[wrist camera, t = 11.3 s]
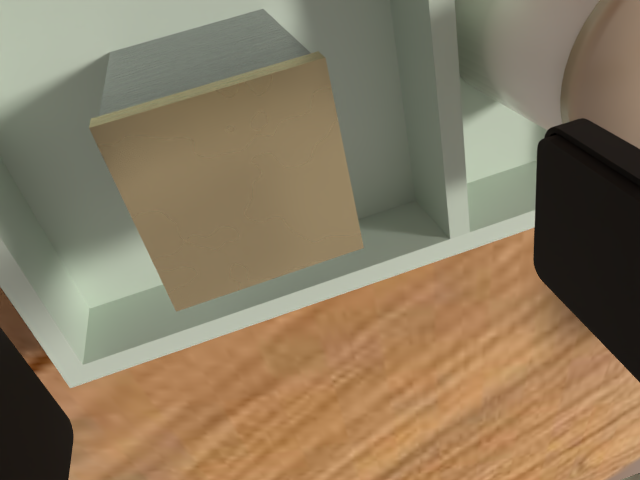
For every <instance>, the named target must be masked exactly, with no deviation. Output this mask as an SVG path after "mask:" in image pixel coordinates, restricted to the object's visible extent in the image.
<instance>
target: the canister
mask: <svg viewBox="0 0 640 480" xmlns="http://www.w3.org/2000/svg"><path fill="white" fill-rule="evenodd" d="M455 13H456V28H457V43H458V58H459V74H460V77H461V78H462V79H463V80H464V81H465V82H466V83H467V84H469V85H470V86H472V87H473V88H475V89H477V90H479V91H480V92H482V93H484V94H485V95H487V96H489V97H491V98H492V99H494V100H496V101H497V102H499V103H501V104H503V105H504V106H506V107H508V108H510V109H511V110H513V111H515V112H516V113H518V114H520V115H522V116H523V117H525V118H527V119H528V120H530V121H532V122H534V123H535V124H537V125H539V126H541V127H542V128H544V129H546V130H548V129H549V128H551V127H554V126H557V125H561V124H564V123H567V122H570V121H573V120H576V119H581V118H585V119H588V120H590V121H591V122H593V123H595V124H597V125H598V126H600V127H602V128H604V129H606V130H607V131H609V132H611V133H613V134H614V135H616V136H618V137H620V138H621V139H623V140H625V141H627V142H628V143H630V144H632V145H634V146H635V147H637V148H639V149H640V0H455Z"/></svg>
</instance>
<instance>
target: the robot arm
mask: <svg viewBox="0 0 640 480" xmlns="http://www.w3.org/2000/svg"><path fill="white" fill-rule="evenodd" d="M534 266H535V269H536V272H537V274H538V276H539V277H540V279H541V280H542V281H543V282H544V283H545V284H546V285H547V286H548V287H549V288H550V289H551V290H552V291H553V293H554V294H555V295H556V296H557V297H558V298H559V299H560V300H561V301H562V302H563V303H564V304H565V305H566V306H567V307H568V308H569V309H570V310H571V311H572V312H573V313H574V314H575V315H576V316H577V317H578V318H579V320H580V321H581V322H582V323H583V324H584V325H585V326H586V327H587V328H588V329H589V330H590V331H591V332H592V333H593V334H594V335H595V336H596V337H597V338H598V339H599V340H600V341H601V342H602V343H603V344H604V346H605V347H606V348H607V349H608V350H609V351H610V352H611V353H612V354H613V355H614V356H615V357H616V358H617V359H618V360H619V361H620V362H621V363H622V364H623V365H624V366H625V367H626V368H627V369H628V370H629V372H630V373H631V374H632V375H633V376H634V377H635V378H636V379H637V380H638V381H639V382H640V149H639V148H637V147H635V146H634V145H632V144H630V143H628V142H627V141H625V140H623V139H621V138H620V137H618V136H616V135H614V134H613V133H611V132H609V131H607V130H606V129H604V128H602V127H600V126H598V125H597V124H595V123H593V122H591V121H590V120H588V119H585V118H581V119H576V120H573V121H570V122H567V123H564V124H561V125H557V126H554V127H551V128H549V129H548V130H547V132H546V134H545V138H544V139H541V140H540V141H539V143H538V147H537V168H536V199H535V231H534ZM72 446H73V429H72V425H71V423H70V420H69V418H68V417H67V415H66V414H65V413H64V411H63V410H62V409H61V407H60V406H59V405H58V403H57V402H56V401H55V399H54V398H53V397H52V395H51V394H50V393H49V391H48V390H47V389H46V387H45V386H44V385H43V383H42V382H41V381H40V379H39V378H38V377H37V376H36V374H35V373H34V372H33V370H32V369H31V368H30V366H29V365H28V364H27V362H26V361H25V360H24V358H23V357H22V356H21V354H20V353H19V352H18V350H17V349H16V348H15V346H14V345H13V344H12V342H11V341H10V340H9V338H8V337H7V336H6V334H5V333H4V332H3V330H2V329H1V328H0V480H68V478H69V470H70V462H71V454H72ZM622 480H640V473H638V474H635V475H633V476H630V477H628V478H625V479H622Z"/></svg>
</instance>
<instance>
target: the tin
mask: <svg viewBox="0 0 640 480" xmlns="http://www.w3.org/2000/svg"><path fill="white" fill-rule="evenodd" d="M89 129H90V131H91V133H92V135H93V138H94V140H95V142H96V144H97V146H98V148H99V150H100V152H101V154H102V156H103V159H104V161H105V163H106V165H107V167H108V169H109V171H110V173H111V175H112V178H113V180H114V182H115V184H116V186H117V188H118V190H119V192H120V194H121V197H122V199H123V201H124V203H125V205H126V207H127V209H128V211H129V213H130V215H131V218H132V220H133V222H134V224H135V226H136V228H137V230H138V232H139V234H140V237H141V239H142V241H143V243H144V245H145V247H146V249H147V251H148V253H149V256H150V258H151V260H152V262H153V264H154V266H155V268H156V270H157V272H158V274H159V277H160V279H161V281H162V283H163V285H164V287H165V289H166V291H167V293H168V296H169V298H170V300H171V302H172V304H173V306H174V308H175V310H176V312H177V311H180V310H183V309H186V308H189V307H192V306H195V305H197V304H200V303H203V302H206V301H209V300H212V299H215V298H218V297H221V296H224V295H227V294H230V293H233V292H236V291H239V290H242V289H245V288H248V287H250V286H253V285H256V284H259V283H262V282H265V281H268V280H271V279H274V278H277V277H280V276H283V275H286V274H289V273H292V272H295V271H298V270H301V269H304V268H306V267H309V266H312V265H315V264H318V263H321V262H324V261H327V260H330V259H333V258H336V257H339V256H342V255H345V254H348V253H351V252H354V251H357V250H360V249H362V248H364V246H363V241H362V236H361V231H360V226H359V221H358V216H357V211H356V206H355V201H354V196H353V191H352V186H351V182H350V177H349V172H348V167H347V162H346V157H345V152H344V147H343V142H342V137H341V132H340V127H339V122H338V117H337V112H336V107H335V102H334V97H333V92H332V87H331V82H330V77H329V72H328V67H327V62H326V58H325V57H324V56H323V55H322V54H321V53H320V52H319V51H317V52H314V53H310V52H309V51H308V50H307V49H306V48H305V47H304V46H303V45H302V44H301V43H300V42H299V41H297V40H296V39H295V38H294V37H293V36H292V35H291V34H290V33H289V32H288V31H287V30H286V29H285V28H283V27H282V26H281V25H280V24H279V23H278V22H277V21H276V20H275V19H274V18H273V17H272V16H271V15H269V14H268V13H267V12H266V11H265V10H264V9H260V10H256V11H253V12H249V13H246V14H242V15H239V16H235V17H232V18H228V19H225V20H221V21H218V22H214V23H211V24H207V25H204V26H200V27H197V28H193V29H190V30H186V31H182V32H179V33H175V34H172V35H168V36H165V37H161V38H158V39H154V40H151V41H147V42H144V43H140V44H137V45H133V46H130V47H126V48H123V49H119V50H116V51H112V52H110V56H109V61H108V67H107V72H106V78H105V83H104V89H103V94H102V100H101V105H100V111H99V116H98V117H94V118H91V121H90V125H89Z"/></svg>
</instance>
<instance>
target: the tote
mask: <svg viewBox="0 0 640 480" xmlns="http://www.w3.org/2000/svg"><path fill="white" fill-rule="evenodd" d="M260 9H264V10H265V11H266V12H267V13H268V14H269V15H271V16H272V17H273V18H274V19H275V20H276V21H277V22H278V23H279V24H280V25H281V26H282V27H283V28H285V29H286V30H287V31H288V32H289V33H290V34H291V35H292V36H293V37H294V38H295V39H296V40H297V41H299V42H300V43H301V44H302V45H303V46H304V47H305V48H306V49H307V50H308V51H309V52H310V53H314V52H317V51H319V52H320V53H321V54H322V55H323V56H324V57H325V58H326V62H327V67H328V72H329V77H330V82H331V87H332V92H333V97H334V102H335V107H336V112H337V117H338V122H339V127H340V132H341V137H342V142H343V147H344V152H345V157H346V162H347V167H348V172H349V177H350V182H351V186H352V191H353V196H354V201H355V206H356V211H357V216H358V221H359V226H360V231H361V236H362V241H363V246H364V248H362V249H360V250H357V251H354V252H351V253H348V254H345V255H342V256H339V257H336V258H333V259H330V260H327V261H324V262H321V263H318V264H315V265H312V266H309V267H306V268H304V269H301V270H298V271H295V272H292V273H289V274H286V275H283V276H280V277H277V278H274V279H271V280H268V281H265V282H262V283H259V284H256V285H253V286H250V287H248V288H245V289H242V290H239V291H236V292H233V293H230V294H227V295H224V296H221V297H218V298H215V299H212V300H209V301H206V302H203V303H200V304H197V305H195V306H192V307H189V308H186V309H183V310H180V311H177V312H176V310H175V308H174V306H173V304H172V302H171V300H170V298H169V296H168V293H167V291H166V289H165V287H164V285H163V283H162V281H161V279H160V277H159V274H158V272H157V270H156V268H155V266H154V264H153V262H152V260H151V258H150V256H149V253H148V251H147V249H146V247H145V245H144V243H143V241H142V239H141V237H140V234H139V232H138V230H137V228H136V226H135V224H134V222H133V220H132V218H131V215H130V213H129V211H128V209H127V207H126V205H125V203H124V201H123V199H122V197H121V194H120V192H119V190H118V188H117V186H116V184H115V182H114V180H113V178H112V175H111V173H110V171H109V169H108V167H107V165H106V163H105V161H104V159H103V156H102V154H101V152H100V150H99V148H98V146H97V144H96V142H95V140H94V138H93V135H92V133H91V131H90V129H89V125H90V121H91V118H94V117H98V116H99V111H100V105H101V100H102V94H103V89H104V83H105V78H106V72H107V67H108V61H109V56H110V52H112V51H116V50H119V49H123V48H126V47H130V46H133V45H137V44H140V43H144V42H147V41H151V40H154V39H158V38H161V37H165V36H168V35H172V34H175V33H179V32H182V31H186V30H190V29H193V28H197V27H200V26H204V25H207V24H211V23H214V22H218V21H221V20H225V19H228V18H232V17H235V16H239V15H242V14H246V13H249V12H253V11H256V10H260ZM546 132H547V130H546V129H544V128H542V127H541V126H539V125H537V124H535V123H534V122H532V121H530V120H528V119H527V118H525V117H523V116H522V115H520V114H518V113H516V112H515V111H513V110H511V109H510V108H508V107H506V106H504V105H503V104H501V103H499V102H497V101H496V100H494V99H492V98H491V97H489V96H487V95H485V94H484V93H482V92H480V91H479V90H477V89H475V88H473V87H472V86H470V85H469V84H467V83H466V82H465V81H464V80H463V79H462V78H461V77H460V74H459V58H458V43H457V28H456V13H455V0H0V287H1V288H2V290H3V291H4V293H5V294H6V296H7V297H8V298H9V300H10V301H11V303H12V304H13V306H14V307H15V309H16V310H17V311H18V313H19V314H20V316H21V317H22V319H23V320H24V322H25V323H26V325H27V326H28V327H29V329H30V330H31V332H32V333H33V335H34V336H35V338H36V339H37V341H38V342H39V343H40V345H41V346H42V348H43V349H44V351H45V352H46V354H47V355H48V357H49V358H50V359H51V361H52V362H53V364H54V365H55V367H56V368H57V370H58V371H59V372H60V374H61V375H62V377H63V378H64V380H65V381H66V383H67V384H68V386H69V387H70V388H72V387H75V386H78V385H81V384H84V383H87V382H90V381H92V380H95V379H98V378H101V377H104V376H107V375H110V374H113V373H116V372H118V371H121V370H124V369H127V368H130V367H133V366H136V365H139V364H142V363H144V362H147V361H150V360H153V359H156V358H159V357H162V356H165V355H168V354H170V353H173V352H176V351H179V350H182V349H185V348H188V347H191V346H193V345H196V344H199V343H202V342H205V341H208V340H211V339H214V338H217V337H219V336H222V335H225V334H228V333H231V332H234V331H237V330H240V329H243V328H245V327H248V326H251V325H254V324H257V323H260V322H263V321H266V320H269V319H271V318H274V317H277V316H280V315H283V314H286V313H289V312H292V311H295V310H297V309H300V308H303V307H306V306H309V305H312V304H315V303H318V302H321V301H323V300H326V299H329V298H332V297H335V296H338V295H341V294H344V293H347V292H349V291H352V290H355V289H358V288H361V287H364V286H367V285H370V284H372V283H375V282H378V281H381V280H384V279H387V278H390V277H393V276H396V275H398V274H401V273H404V272H407V271H410V270H413V269H416V268H419V267H422V266H424V265H427V264H430V263H433V262H436V261H439V260H442V259H445V258H448V257H450V256H453V255H456V254H459V253H462V252H465V251H468V250H471V249H474V248H476V247H479V246H482V245H485V244H488V243H491V242H494V241H497V240H500V239H502V238H505V237H508V236H511V235H514V234H517V233H520V232H523V231H525V230H528V229H531V228H534V227H535V199H536V168H537V147H538V143H539V141H540V140H541V139H544V138H545V134H546Z"/></svg>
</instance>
